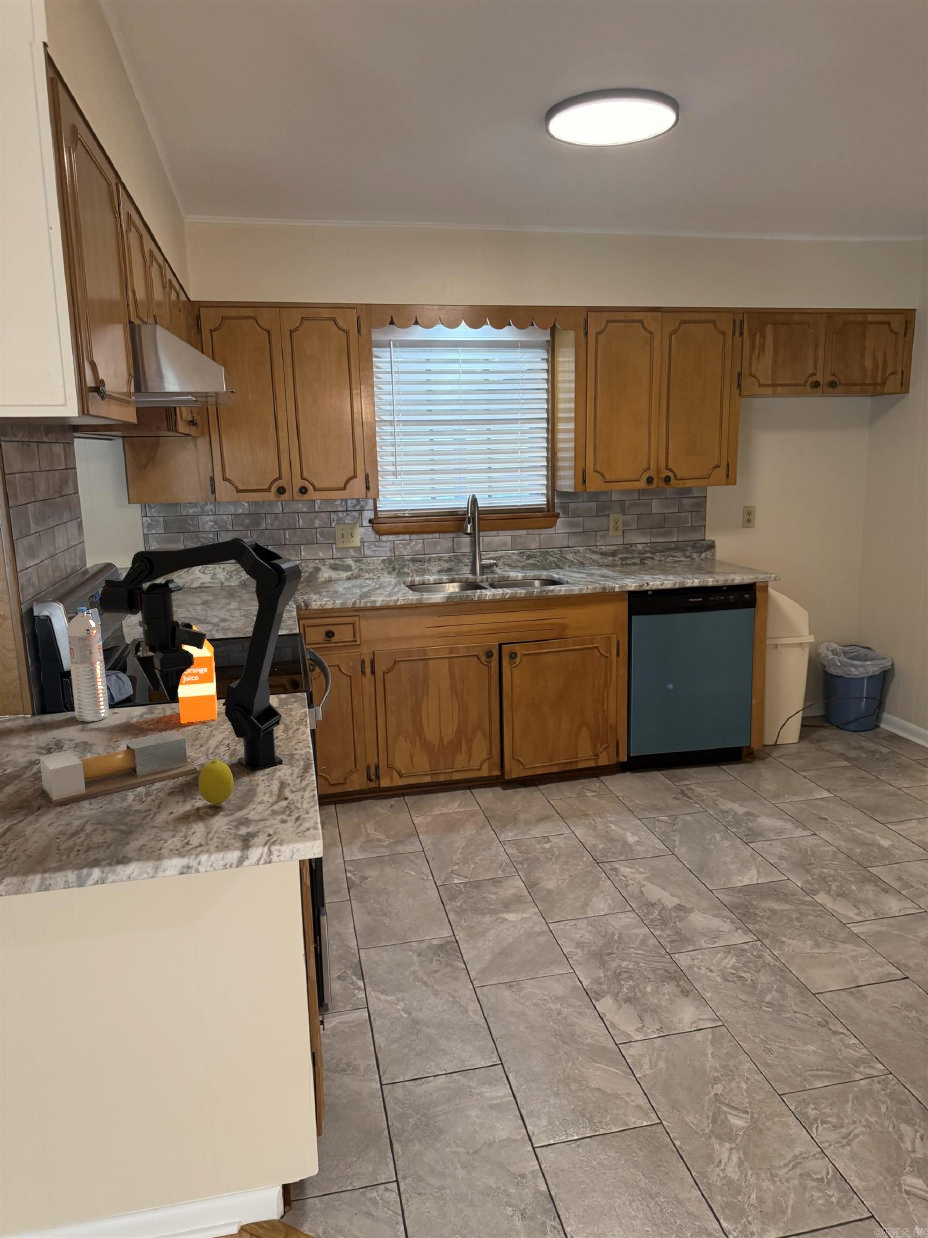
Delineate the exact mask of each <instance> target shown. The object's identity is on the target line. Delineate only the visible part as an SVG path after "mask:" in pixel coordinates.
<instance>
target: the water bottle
mask: <svg viewBox="0 0 928 1238" xmlns="http://www.w3.org/2000/svg"><path fill="white" fill-rule="evenodd" d="M87 609H88V608H87V607H85V606H80V607H77V608H76V611H77V615H75V617H73V618H72V619H71V620H70V622H69V623H68V625H67V626H66V635H67V639H68V651H69V661H70V663H69V667H70V674H71V686H72V695H73V703H74V713H75V718H76V720H77V719H78V720H79V722H80V721H85V722H84V723H93V722H92V721H95V722H98V721H99V720H100V721H103V720H105V719H107V718H108V717H109V715H110V707H109V699H108V698H109V697H108V688H107V680H106V679H107V677H106V668H105V667H106V665H105V660H104V653H103V643H102V634H101V633H102V629H101V628H102V626H101V625H100V623H99V622H98V621H97V620H96V618H94V617H93V616H91V615H89V614H87V612H88V611H87ZM102 719H103V720H102ZM78 720H77V721H78Z"/></svg>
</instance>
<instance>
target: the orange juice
mask: <svg viewBox="0 0 928 1238" xmlns="http://www.w3.org/2000/svg"><path fill="white" fill-rule="evenodd" d="M192 626H193V629H195V630H198V631H199V629H198V628H197V627H196V626H195V625H192ZM182 648H183V649H185V650H187V651H189V652H190V653H192V654H193V656H194V665H193V666H191V668H190V669H187V670H186V671H185V672H184V673H183V674H182V677H181V680H180V684H179V688H178V693H177V697H178V703H179V706H178V707H179V715H180V724H181V723H183V724H188V723H187V722H194V723H196V722H195V721H204V720H210V719H217V720H218V704H217V703H218V701H217V699H218V698H217V687H216V686H217V684H216V672H215V671H216V670H215V664H216V663H215V659H214V657H215V656H214V647H213V646H212V645H211V644H210V642H209V641H208V640H207V638H206V639H205V642H204V646H203V649H197V648H196V647H192V646H187V645H182Z"/></svg>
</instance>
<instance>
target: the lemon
mask: <svg viewBox="0 0 928 1238" xmlns="http://www.w3.org/2000/svg"><path fill="white" fill-rule="evenodd" d="M234 781H235V780H234V777H233V773H232V771H231V769H230V766H229V765H227V763H224V762H222V761H220V760H217V759H212V760H211V761H210V762H208V763H206V764H205V765H204V766H203V767H202V768H201V770H200V772H199V776H198V784H197V785H198V791H199V794H200V796H201V798H202V799H203V800H204V801H206V802H207V803H210V804H213V805H214V806H216V807H219V806H220V805H221V804H222V803H223V802H225V801H227V800H228V799H229V798H231V797H230V796H231V795H232V793H233V789H234V785H235V784H234ZM218 805H219V806H218Z"/></svg>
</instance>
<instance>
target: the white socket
mask: <svg viewBox="0 0 928 1238" xmlns="http://www.w3.org/2000/svg"><path fill="white" fill-rule="evenodd" d="M39 762H40V764H39V765H40V772H41V773H40V774H41V782H42V784H43V787H44V788H45V789H46V791H47V792H48V793H49V795H50V796H51V797H52V799H53V800H56V799H61V798H65V797H69V796H73V795H77V794H81V793H86V792H85V782H84V773H83V763H82V762H81V759H80V758H79V757H78V756H77V755H76V754H75V753H74V752H73V751H72V750H71V749H70V750H69V749H68V750H63V751H59V752H54V753H50V754H44V755H40V756H39Z"/></svg>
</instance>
